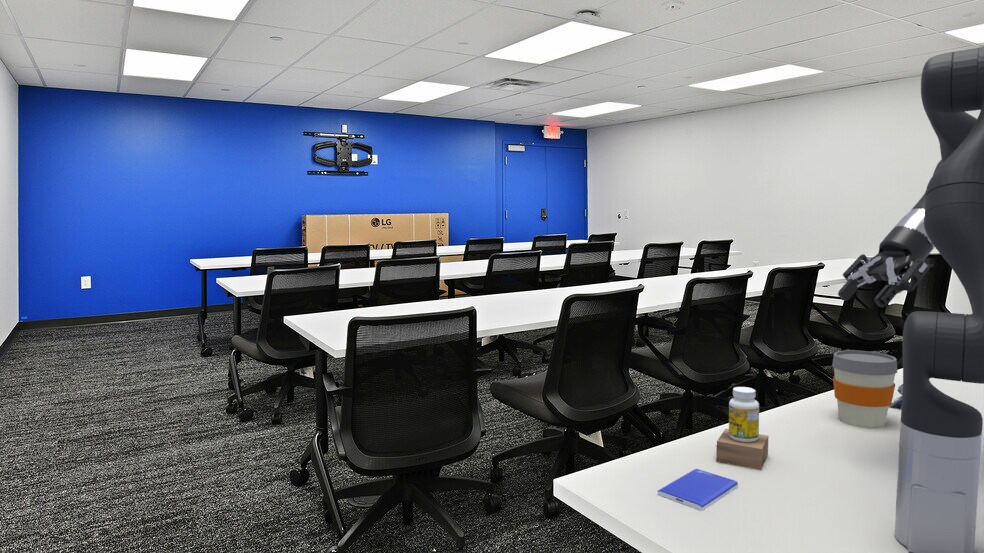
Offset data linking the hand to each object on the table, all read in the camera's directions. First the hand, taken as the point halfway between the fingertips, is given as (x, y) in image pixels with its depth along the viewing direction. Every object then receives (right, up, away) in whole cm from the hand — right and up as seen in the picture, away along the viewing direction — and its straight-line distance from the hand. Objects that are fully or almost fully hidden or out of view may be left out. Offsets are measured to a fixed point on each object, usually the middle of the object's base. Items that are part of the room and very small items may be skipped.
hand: (859, 300), depth 115 cm
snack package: (+34, -28, +35) cm, 56 cm away
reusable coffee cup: (+15, -28, +24) cm, 40 cm away
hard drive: (-33, -33, -9) cm, 48 cm away
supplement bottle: (-20, -27, +4) cm, 34 cm away
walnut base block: (-20, -31, +4) cm, 37 cm away
